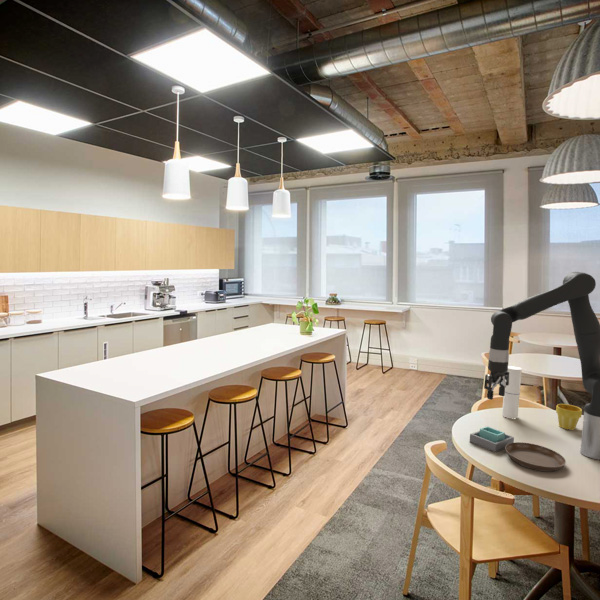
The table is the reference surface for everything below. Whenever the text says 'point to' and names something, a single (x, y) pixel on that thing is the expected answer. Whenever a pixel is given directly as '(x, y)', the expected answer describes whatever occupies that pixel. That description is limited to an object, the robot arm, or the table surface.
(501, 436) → the small crate
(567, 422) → the plant pot
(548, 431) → the table surface
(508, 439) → the grey rectangular tray
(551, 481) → the table surface
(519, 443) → the plant saucer
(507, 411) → the cylindrical container
